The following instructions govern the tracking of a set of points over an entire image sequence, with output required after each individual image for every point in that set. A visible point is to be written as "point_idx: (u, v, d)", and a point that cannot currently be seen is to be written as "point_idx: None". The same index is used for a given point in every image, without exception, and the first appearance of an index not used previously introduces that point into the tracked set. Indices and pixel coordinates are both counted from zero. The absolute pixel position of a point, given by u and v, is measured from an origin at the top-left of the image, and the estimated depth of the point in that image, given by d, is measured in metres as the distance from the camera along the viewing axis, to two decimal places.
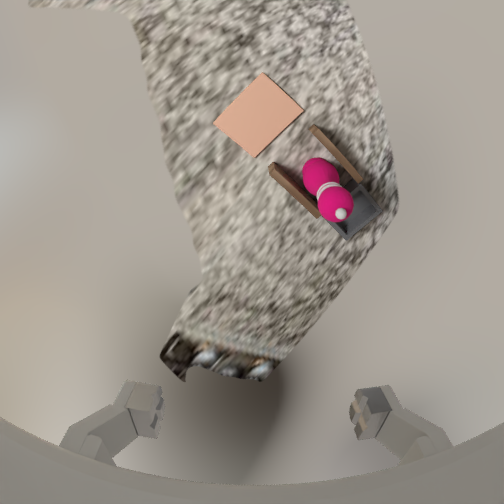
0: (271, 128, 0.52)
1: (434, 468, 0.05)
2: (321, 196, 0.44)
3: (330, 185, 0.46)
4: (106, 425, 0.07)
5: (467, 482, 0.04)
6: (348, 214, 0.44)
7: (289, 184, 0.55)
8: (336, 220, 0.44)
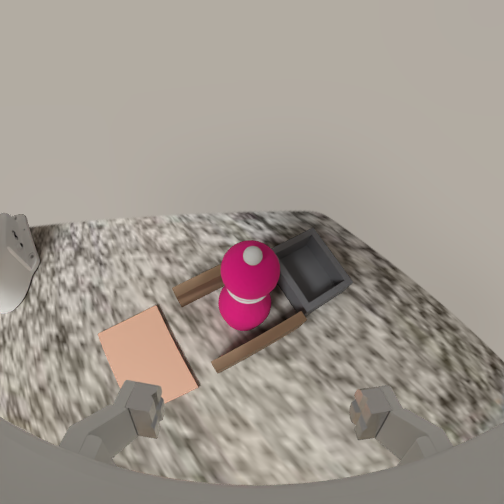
0: (165, 351, 0.39)
1: (434, 468, 0.05)
2: (229, 289, 0.28)
3: None
4: (106, 425, 0.07)
5: (467, 482, 0.04)
6: (263, 247, 0.28)
7: (240, 348, 0.36)
8: (270, 268, 0.27)
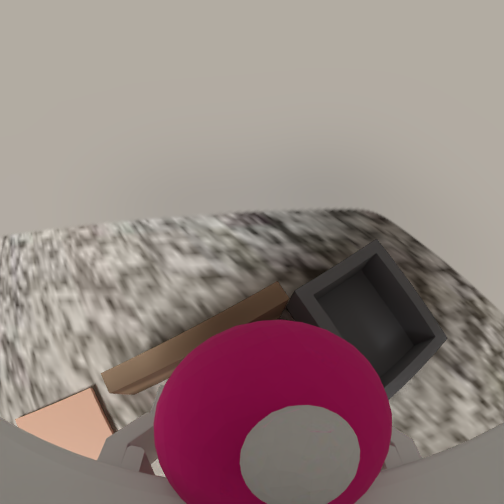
0: None
1: (434, 468, 0.05)
2: None
3: None
4: (146, 434, 0.07)
5: (467, 482, 0.04)
6: (343, 370, 0.05)
7: None
8: (372, 462, 0.04)
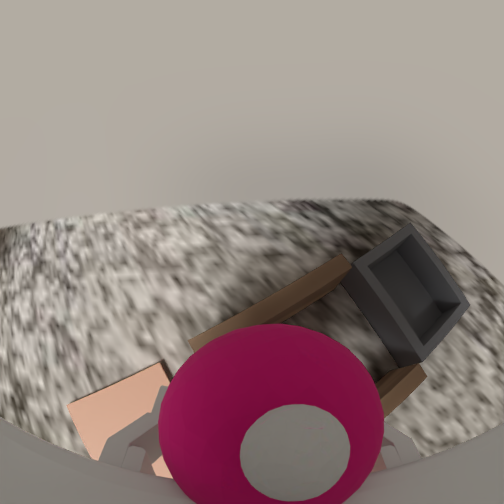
0: None
1: (434, 468, 0.05)
2: None
3: None
4: (147, 434, 0.07)
5: (467, 482, 0.04)
6: (336, 372, 0.05)
7: None
8: (364, 458, 0.04)
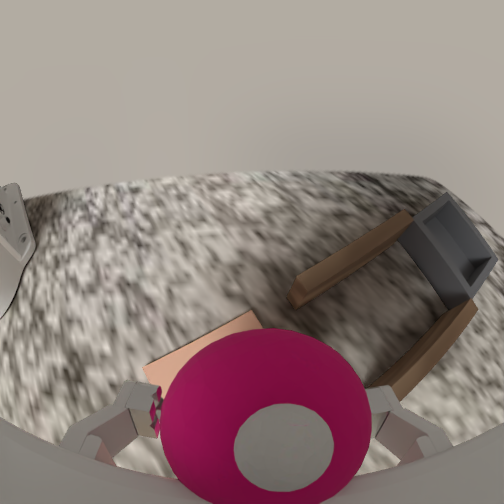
0: None
1: (434, 468, 0.05)
2: None
3: None
4: (106, 425, 0.07)
5: (467, 482, 0.04)
6: (325, 374, 0.06)
7: (417, 365, 0.19)
8: (351, 455, 0.05)
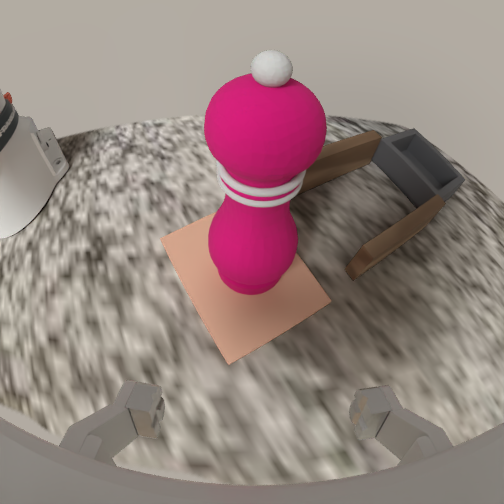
0: None
1: (434, 468, 0.05)
2: (221, 150, 0.12)
3: None
4: (106, 425, 0.07)
5: (467, 482, 0.04)
6: (291, 78, 0.12)
7: (393, 228, 0.25)
8: (309, 101, 0.11)
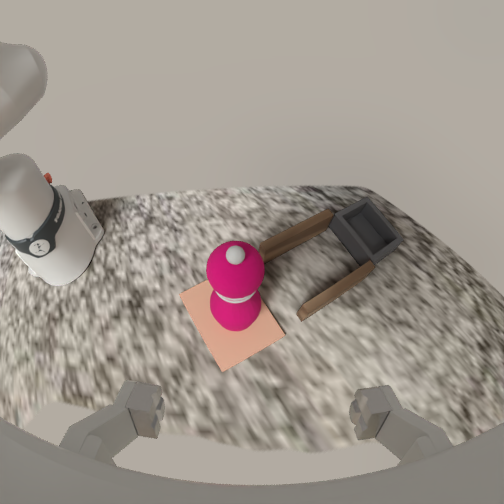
0: None
1: (434, 468, 0.05)
2: (214, 288, 0.28)
3: None
4: (106, 425, 0.07)
5: (467, 482, 0.04)
6: (247, 247, 0.28)
7: (326, 291, 0.41)
8: (253, 267, 0.28)
